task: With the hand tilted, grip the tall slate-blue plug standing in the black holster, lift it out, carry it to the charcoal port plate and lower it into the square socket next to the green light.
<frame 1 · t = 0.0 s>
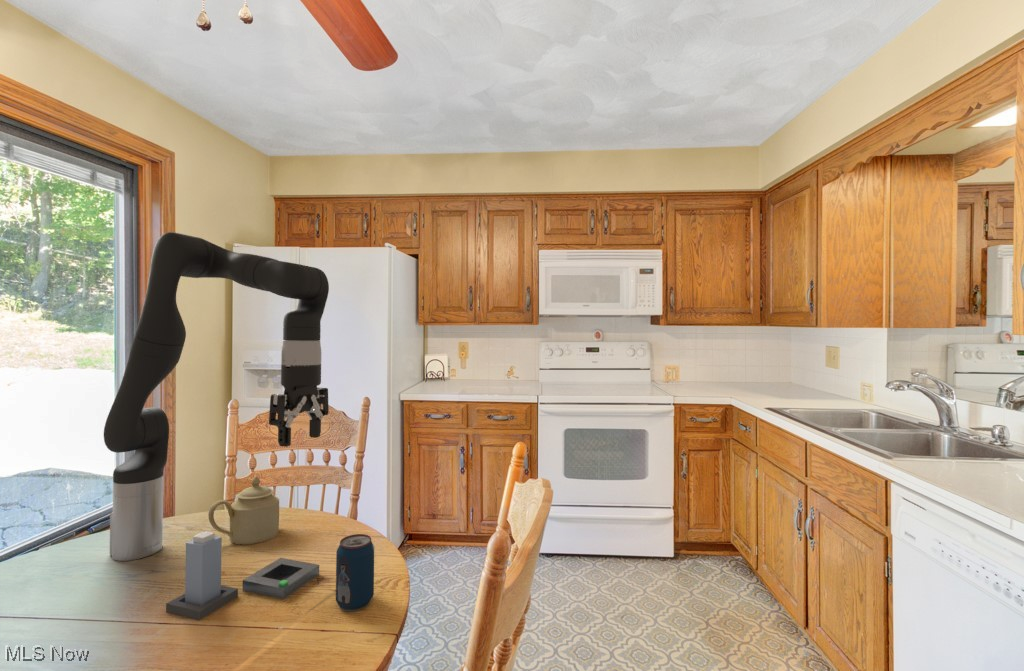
hand: (300, 441, 97), 29 cm above the table, tool pointing down, fingers open, 8 cm apart
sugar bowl: (248, 539, 118), on the table
port: (282, 584, 97), on the table
plug: (203, 603, 89), resting on holster
holster: (202, 606, 89), on the table
soda can: (354, 603, 91), on the table
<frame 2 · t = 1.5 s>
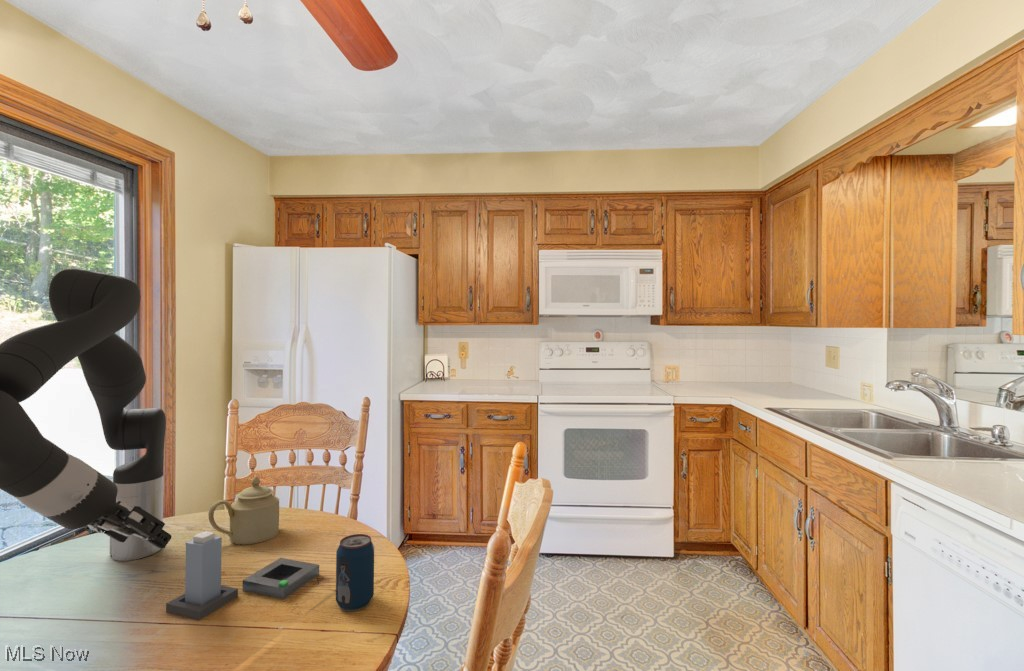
hand: (146, 539, 78), 17 cm above the table, tool tilted 45°, fingers open, 8 cm apart
nothing on the table moved.
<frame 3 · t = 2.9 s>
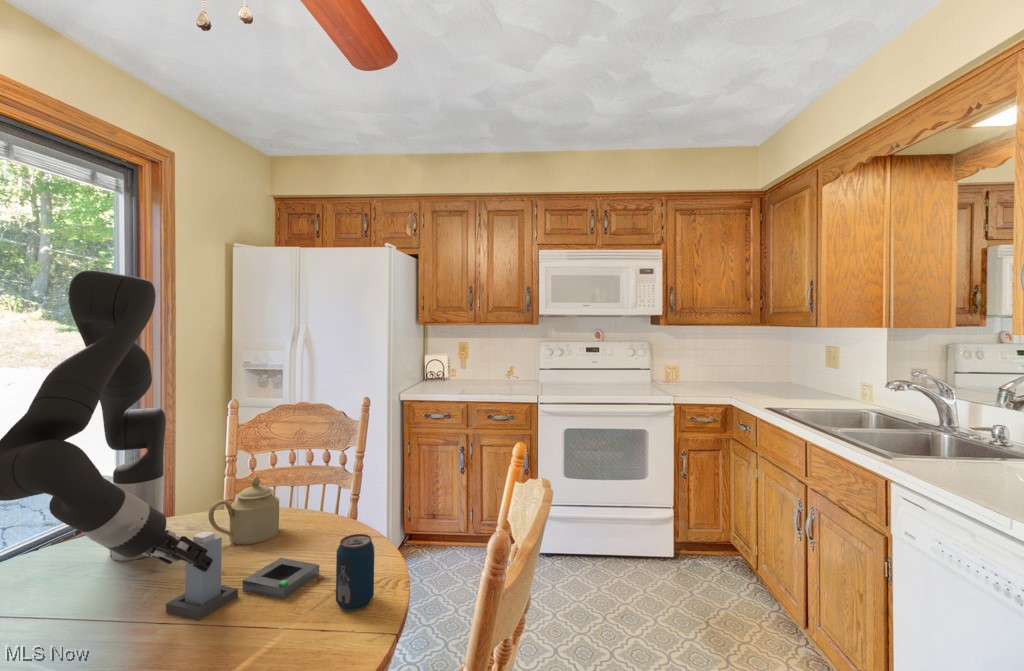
hand: (190, 562, 86), 9 cm above the table, tool tilted 45°, fingers open, 8 cm apart
nothing on the table moved.
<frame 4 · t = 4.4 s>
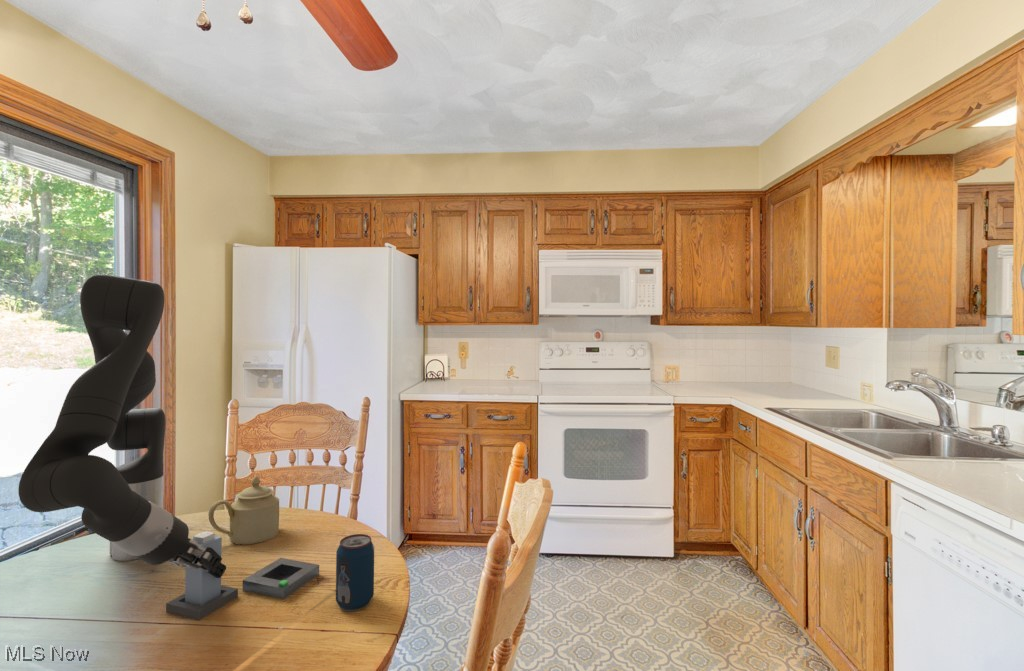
hand: (212, 570, 91), 6 cm above the table, tool tilted 45°, fingers closed on plug, 4 cm apart
plug: (203, 603, 89), point 1 cm above the table, touching gripper, holster
everything else where it was.
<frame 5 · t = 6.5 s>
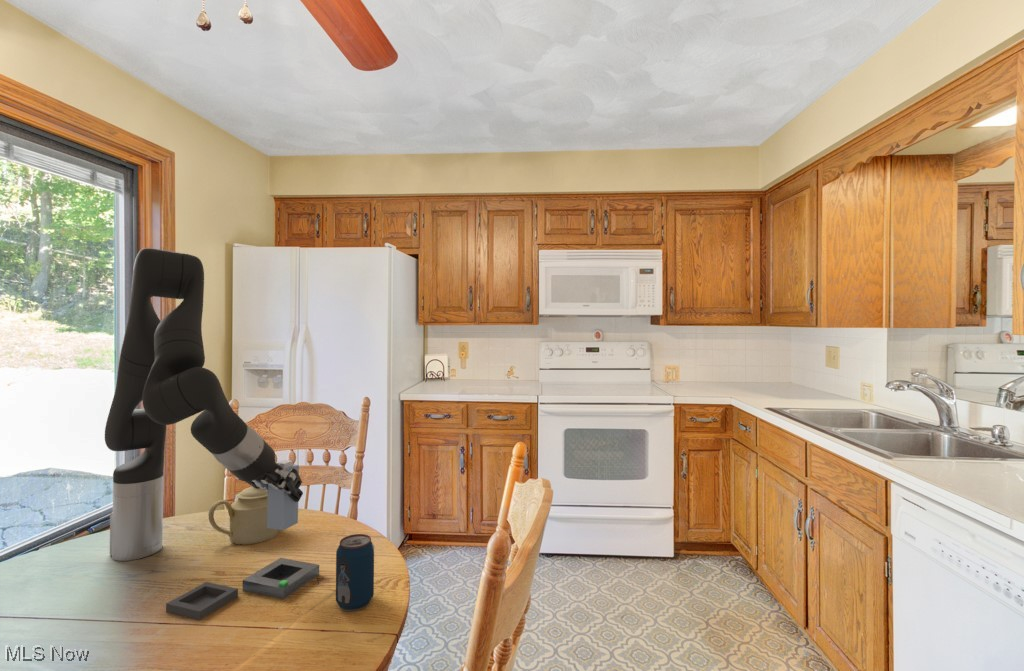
hand: (290, 496, 99), 17 cm above the table, tool tilted 45°, fingers closed on plug, 4 cm apart
plug: (282, 525, 97), point 12 cm above the table, touching gripper
everything else where it was.
when the fingers open (7 cm above the table, at t = 8.6 s): plug drops 1 cm, resting on port.
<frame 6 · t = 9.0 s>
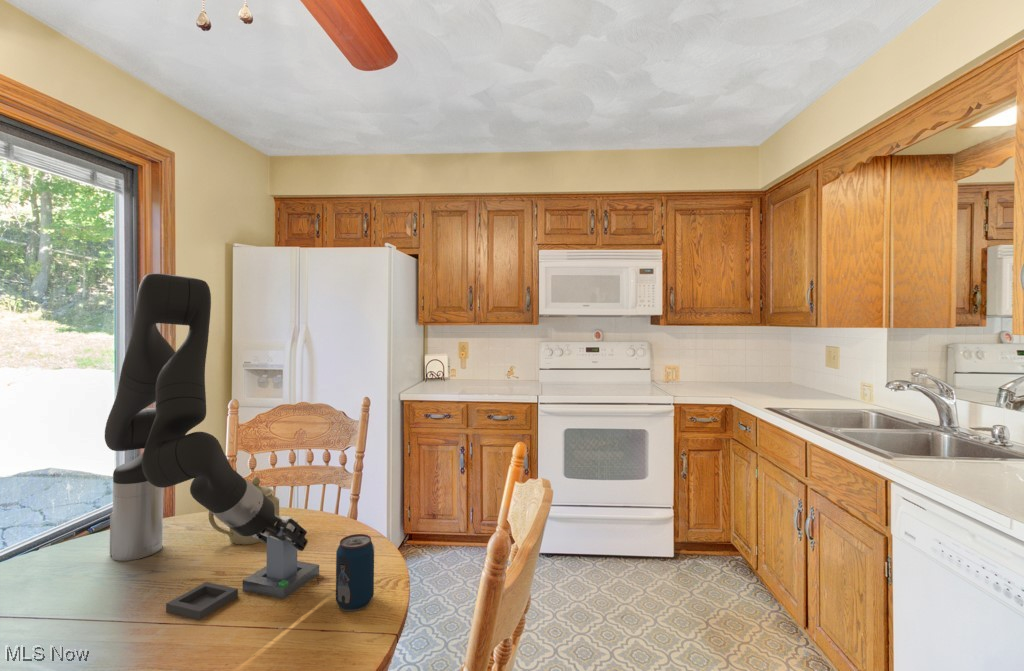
hand: (287, 543, 98), 8 cm above the table, tool tilted 45°, fingers open, 7 cm apart
plug: (281, 582, 97), point 1 cm above the table, touching port
everything else where it was.
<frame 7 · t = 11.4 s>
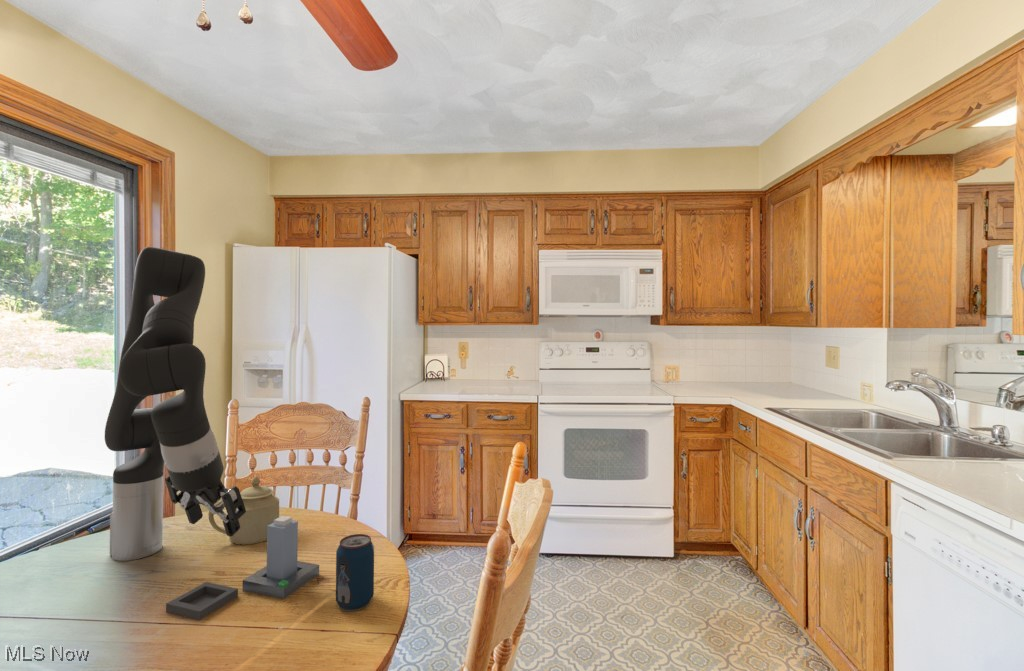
hand: (214, 526, 86), 16 cm above the table, tool tilted 25°, fingers open, 8 cm apart
nothing on the table moved.
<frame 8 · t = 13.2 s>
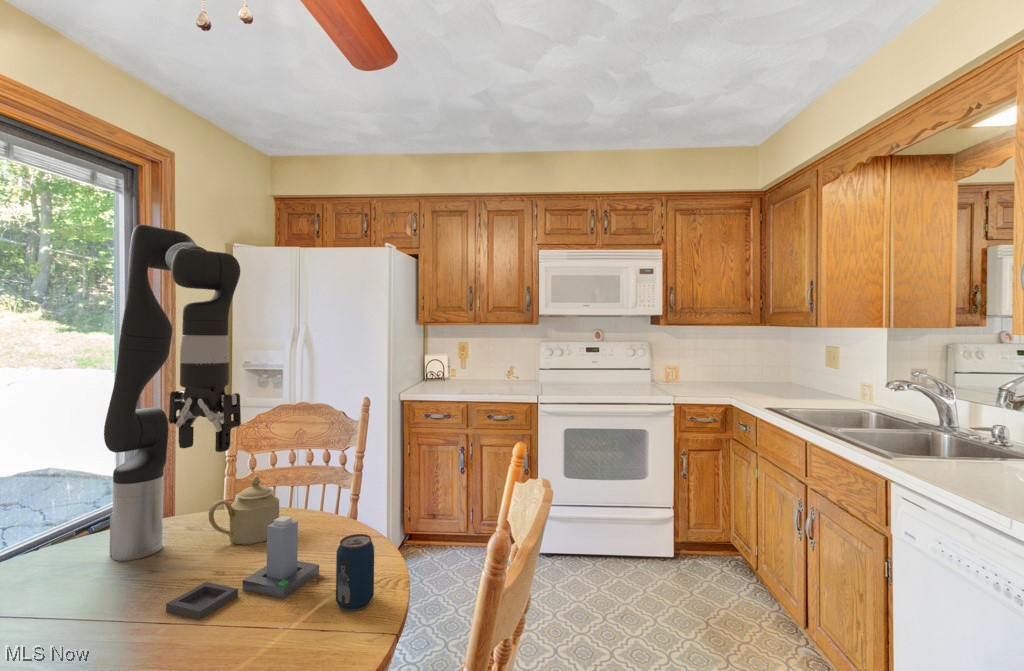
hand: (203, 449, 86), 30 cm above the table, tool pointing down, fingers open, 8 cm apart
nothing on the table moved.
at the end: plug 0.1 cm off-centre on the port, point 0.5 cm above the port's base; plug tilted 0°; the gripper is holding nothing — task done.
